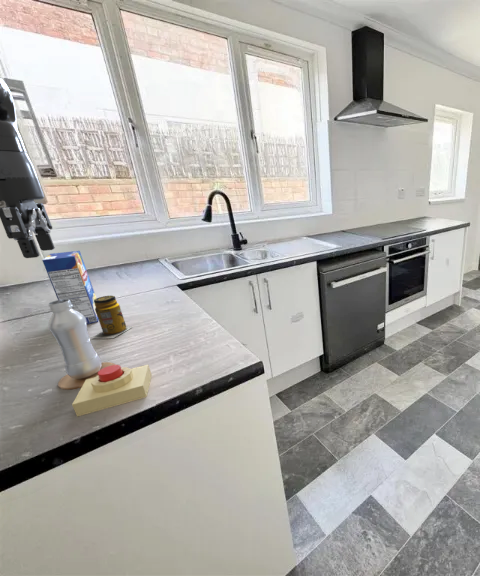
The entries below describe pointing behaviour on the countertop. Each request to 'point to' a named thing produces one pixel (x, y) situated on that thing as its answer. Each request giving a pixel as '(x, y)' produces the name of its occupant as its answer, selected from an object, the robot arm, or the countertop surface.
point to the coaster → (71, 383)
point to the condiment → (109, 317)
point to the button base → (112, 390)
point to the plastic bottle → (73, 340)
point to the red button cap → (110, 373)
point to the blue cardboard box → (72, 282)
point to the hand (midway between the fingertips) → (40, 253)
